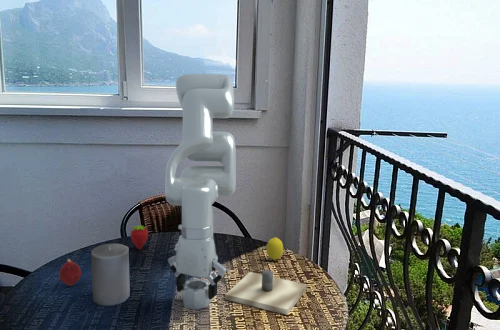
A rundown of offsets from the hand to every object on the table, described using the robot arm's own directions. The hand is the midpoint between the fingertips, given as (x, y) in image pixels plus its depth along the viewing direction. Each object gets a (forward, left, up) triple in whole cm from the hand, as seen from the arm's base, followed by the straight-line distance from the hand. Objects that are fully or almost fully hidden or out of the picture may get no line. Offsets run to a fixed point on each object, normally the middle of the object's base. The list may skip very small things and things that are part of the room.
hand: (196, 293), depth 122 cm
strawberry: (-37, +24, -3) cm, 44 cm away
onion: (-37, -7, -3) cm, 38 cm away
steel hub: (0, +1, -3) cm, 3 cm away
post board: (+15, +14, -3) cm, 20 cm away
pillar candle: (-22, -7, -3) cm, 24 cm away
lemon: (+8, +37, -3) cm, 38 cm away
